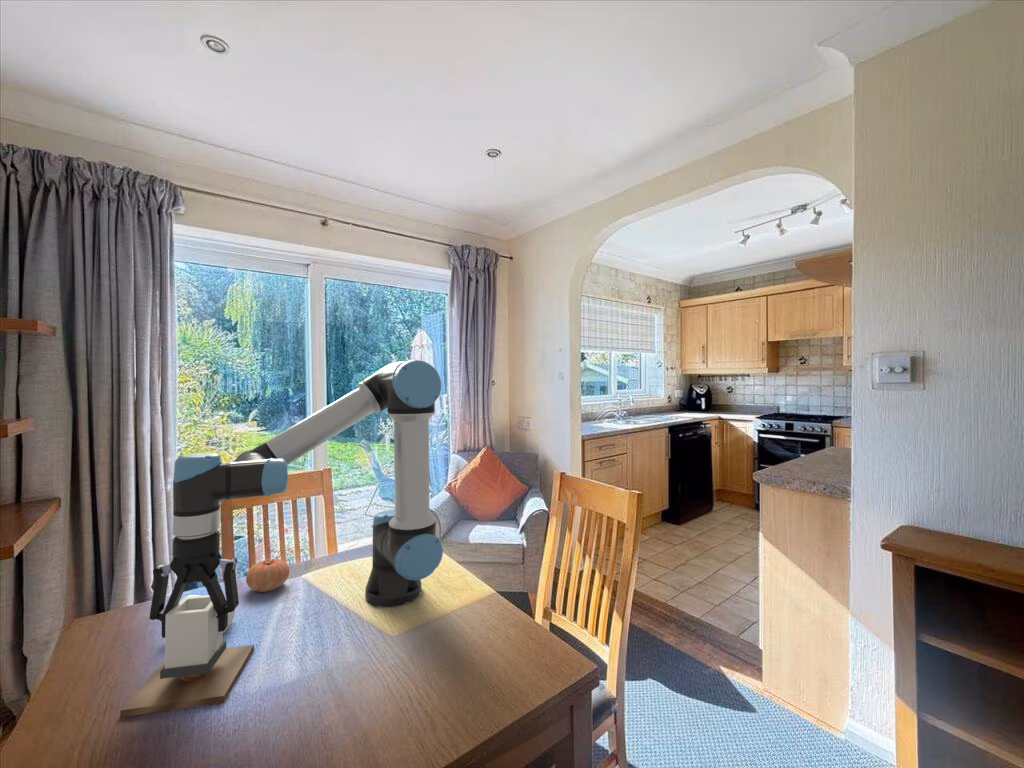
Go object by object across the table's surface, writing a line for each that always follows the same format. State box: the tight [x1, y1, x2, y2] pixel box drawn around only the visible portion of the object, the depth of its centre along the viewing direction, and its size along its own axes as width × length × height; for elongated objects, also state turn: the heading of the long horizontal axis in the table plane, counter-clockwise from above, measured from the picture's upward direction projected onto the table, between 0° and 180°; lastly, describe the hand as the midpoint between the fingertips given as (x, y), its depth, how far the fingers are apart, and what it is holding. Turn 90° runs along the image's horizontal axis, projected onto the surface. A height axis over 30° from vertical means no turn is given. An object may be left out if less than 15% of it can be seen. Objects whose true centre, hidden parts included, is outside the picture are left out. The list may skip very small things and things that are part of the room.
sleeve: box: [164, 594, 224, 669], centre depth 85 cm, size 7×7×10 cm
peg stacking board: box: [119, 644, 255, 718], centre depth 85 cm, size 16×16×12 cm
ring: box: [160, 640, 227, 679], centre depth 85 cm, size 8×8×2 cm
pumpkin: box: [245, 558, 290, 593], centre depth 123 cm, size 11×11×8 cm
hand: (195, 649), depth 85 cm, fingers closed on sleeve, 7 cm apart
